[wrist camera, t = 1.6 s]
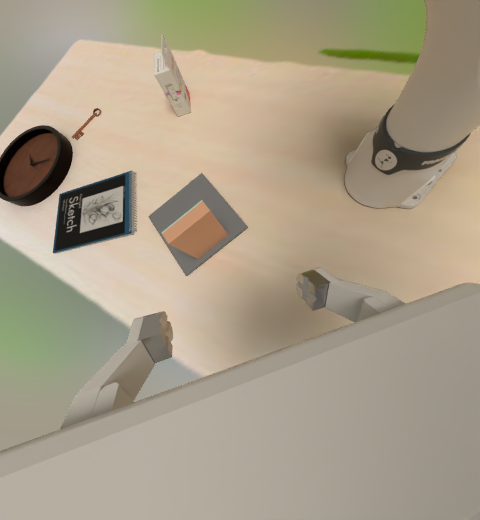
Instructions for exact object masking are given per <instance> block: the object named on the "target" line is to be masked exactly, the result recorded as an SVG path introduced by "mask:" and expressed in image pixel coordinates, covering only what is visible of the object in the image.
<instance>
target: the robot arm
mask: <svg viewBox="0 0 480 520" xmlns="http://www.w3.org/2000/svg"><path fill="white" fill-rule="evenodd" d="M424 2H425V7H426V19H427V20H426V32H425V38H424V43H423V47H422V50H421V53H420V56H419V58H418V61H417V63H416V65H415V67H414V69H413V71H412V73H411V75H410V77H409V79H408V81H407V83H406V85H405V87H404V88H403V90H402V92H401V94H400V96H399V97H398V99H397V101H396V103H395V104H394V105H393V106H392V107H391V108H390V109H389V110H388V112H387V113H386V115H385V116H384V117H383V118H382V120H381V121H380V123H379V125H378V127H376V128H375V129H374V130H372V131H371V132H368V133H367V134H366V136H365V137H364V139H363V140H362V142H361V143H360V145H359V147H358V148H357V149H355V150H354V151H352V152H350V153H349V154H348V155H347V157H346V165H347V170H346V174H345V186H346V189H347V191H348V193H349V194H350V195H351V196H352V197H353V198H354V199H355V200H356V201H358V202H359V203H361V204H363V205H366V206H369V207H374V208H387V207H401V208H407V209H411V208H414V207H415V206H416V205H417V204H418V203H419V202H420V201H421V200H422V198H423V197H424V196H425V195H426V194H427V193H428V191H429V190H430V189H431V188H432V187H433V185H434V184H435V183H436V182H437V181H438V180H439V178H440V177H441V176H442V175H443V174H444V172H445V171H446V170H447V169H448V168H449V167H450V165H451V164H452V163H453V162H454V161H455V159H456V158H457V155H456V153H455V151H456V150H457V149H458V148H459V147H460V146H461V145H462V144H463V143H464V142H465V141H466V139H467V138H468V137H469V135H470V133H471V132H472V131H473V130H474V129H476V128H477V127H478V126H479V125H480V0H424ZM413 198H415V199H413ZM297 280H298V281H299V282H298V284H297V292H298V294H299V296H300V297H301V298H302V299H304V300H306V304H307V305H308V306H309V307H310V308H311V309H312V310H313V311H314V310H317V309H320V308H324V307H325V308H327V309H329V310H331V311H333V312H335V313H337V314H339V315H341V316H343V317H345V318H347V319H349V320H352V321H354V322H355V323H352V324H349V325H347V326H344V327H341V328H338V329H335V330H333V331H330V332H327V333H324V334H322V335H319V336H316V337H313V338H311V339H308V340H305V341H302V342H300V343H297V344H294V345H291V346H289V347H286V348H283V349H280V350H278V351H275V352H272V353H269V354H267V355H264V356H261V357H258V358H256V359H253V360H250V361H247V362H245V363H242V364H239V365H236V366H233V367H231V368H228V369H225V370H222V371H220V372H217V373H214V374H211V375H209V376H206V377H203V378H200V379H198V380H195V381H192V382H189V383H187V384H184V385H181V386H178V387H176V388H173V389H171V390H167V391H165V392H162V393H159V394H156V395H154V396H151V397H148V398H145V399H143V400H140V401H137V402H133V401H134V399H135V398H136V396H137V394H138V393H139V391H140V389H141V387H142V386H143V384H144V382H145V380H146V379H147V377H148V375H149V374H150V372H151V370H152V369H153V367H154V365H155V363H157V362H160V361H162V360H165V359H168V358H171V357H172V344H171V341H172V339H173V331H172V326H171V324H170V322H169V321H167V315H166V312H164V311H163V312H159V313H155V314H151V315H147V316H144V317H140V318H136V319H134V320H133V323H132V326H131V329H130V332H129V335H128V339H127V342H126V345H123V346H122V347H121V348H120V349H119V350H118V351H117V352H116V353H115V354H114V355H113V356H112V357H111V358H110V359H109V360H108V361H107V363H106V364H105V365H104V366H103V367H102V368H101V369H100V370H99V371H98V372H97V373H96V374H95V375H94V376H93V377H92V378H91V379H90V380H89V381H88V382H87V384H86V385H85V386H84V387H83V388H82V389H81V390H80V391H79V392H78V393H77V394H76V396H75V398H74V400H73V402H72V404H71V406H70V409H69V411H68V413H67V415H66V418H65V420H64V422H63V424H62V426H61V428H60V430H57V431H54V432H52V433H49V434H46V435H43V436H41V437H38V438H35V439H32V440H30V441H27V442H24V443H21V444H19V445H16V446H13V447H10V448H8V449H5V450H2V451H0V520H480V284H475V283H463V284H460V285H456V286H454V287H451V288H448V289H446V290H443V291H440V292H438V293H435V294H432V295H429V296H427V297H424V298H421V299H418V300H416V301H413V302H410V303H407V304H405V303H404V302H402V301H400V300H399V299H397V298H396V297H394V296H392V295H391V294H389V293H387V292H386V291H382V290H379V289H375V288H371V287H367V286H363V285H359V284H355V283H351V282H348V281H344V280H338V279H336V278H335V277H333V276H332V275H331V274H329V273H328V272H326V271H325V270H324V269H322V268H316V269H313V270H310V271H306V272H303V273H299V274H298V276H297Z"/></svg>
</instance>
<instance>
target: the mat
mask: <svg viewBox="0 0 480 520" xmlns="http://www.w3.org/2000/svg"><path fill="white" fill-rule="evenodd" d="M201 200H202V201H203V202H204V203H205V205H206V206H207V207H208V208H209V210H210V211H211V212H212V214H213V215H214V216H215V218H216V219H217V220H218V221H219V223H220V224H221V225H222V227H223V228H224V229H225V231H226V232H227V233H228V236H227V237H225V238H224V239H223V240H222V241H220V242H219V243H218V244H217V245H215V246H214V247H213V248H212V249H210V250H209V251H208V252H207V253H205V254H204V255H203V256H202V257H200V258H199V259H197V258H195V257H193V256H191V255H189V254H187V253H185V252H183V251H181V250H179V249H177V248H175V247H173V246H171V245H169V244H168V242H167V241H166V239H165V238H164V236H163V235H162V232H163V231H164V230H165V229H167V228H168V227H169V226H170V225H171V224H173V223H174V222H175V221H176V220H178V219H179V218H180V217H181V216H183V215H184V214H185V213H186V212H188V211H189V210H190V209H191V208H192V207H194V206H195V205H196V204H197V203H199V202H200V201H201ZM149 218H150V220H151V222H152V223H153V225H154V226H155V228H156V229H157V231H158V233H159V234H160V236H161V237H162V239H163V240H164V242H165V244H166V245H167V247H168V248H169V250H170V251H171V253H172V255H173V256H174V258H175V259H176V261H177V262H178V264H179V266H180V267H181V269H182V270H183V272H184V273H185V275H186V276H188V275H189V274H190V273H192V272H193V271H194V270H195V269H197V268H198V267H199V266H200V265H202V264H203V263H204V262H205V261H207V260H208V259H209V258H211V257H212V256H213V255H214V254H216V253H217V252H218V251H219V250H221V249H222V248H223V247H224V246H226V245H227V244H228V243H229V242H231V241H232V240H233V239H234V238H236V237H237V236H238V235H239V234H241V233H242V232H243V231H244V230H246V229H247V228H248V227H247V225H246V224H245V223H244V222H243V221H242V219H241V218H240V217H239V216H238V215H237V214H236V212H235V211H234V210H233V209H232V208H231V207H230V205H229V204H228V203H227V202H226V201H225V200H224V198H223V197H222V196H221V195H220V194H219V193H218V191H217V190H216V189H215V188H214V187H213V185H212V184H211V183H210V182H209V181H208V180H207V178H206V177H205V176H204V175H203V174H202V173H201V174H200V175H199V176H198V177H196V178H195V179H194V180H193V181H192V182H190V183H189V184H188V185H187V186H185V187H184V188H183V189H182V190H180V191H179V192H178V193H177V194H176V195H174V196H173V197H172V198H171V199H169V200H168V201H167V202H166V203H165V204H163V205H162V206H161V207H160V208H158V209H157V210H156V211H155V212H153V213H152V214H151V215H150V216H149Z"/></svg>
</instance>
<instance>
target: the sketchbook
mask: <svg viewBox="0 0 480 520" xmlns="http://www.w3.org/2000/svg"><path fill="white" fill-rule="evenodd" d="M134 174H135V175H136V173H135V172H133V171H129V172H126V173H123V174H120V175H117V176H114V177H111V178H108V179H105V180H102V181H98V182H95V183H92V184H89V185H86V186H83V187H80V188H77V189H74V190H71V191H68V192H65V193H62V194H60V196H59V204H58V213H57V222H56V230H55V239H54V248H53V253H59V252H64V251H68V250H72V249H76V248H80V247H84V246H88V245H92V244H96V243H100V242H104V241H109V240H113V239H117V238H121V237H125V236H129V235H133V234H134V229H136V228H134V226H135V225H134V221H135V222H137V221H136V220H134V218H135V217H134V216H136V215H134V213H135V212H134V208H135V207H134V205H135V204H136V203H135V202H134V198H135V197H134V193H135V192H136V190H134V188H135V187H136V186H135V185H134V181H135V180H136V179H135V178H136V176H134ZM134 177H135V178H134ZM134 179H135V180H134ZM135 182H136V181H135ZM135 184H136V183H135ZM134 186H135V187H134ZM135 189H136V188H135ZM134 191H135V192H134ZM135 194H136V193H135ZM135 196H136V195H135ZM135 199H136V198H135ZM135 201H136V200H135ZM136 202H137V201H136ZM134 203H135V204H134ZM135 206H136V205H135ZM136 207H137V206H136ZM135 209H136V208H135ZM135 211H136V210H135ZM136 212H137V211H136ZM135 214H136V213H135ZM136 217H137V216H136ZM135 219H136V218H135ZM135 224H136V223H135ZM136 225H137V224H136ZM135 227H136V226H135ZM136 230H137V229H136ZM136 230H135V231H136Z"/></svg>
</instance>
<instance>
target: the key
mask: <svg viewBox="0 0 480 520" xmlns="http://www.w3.org/2000/svg"><path fill="white" fill-rule="evenodd" d="M96 110H100V109H98V108H96V109H94V111H93V115H92V116H91V117H90V119H88V120H87V121H86V123H85V124H84V125H83V126H82V127H81V128H80V129H79V130H78V131H77V132H76V133H75V134H74V135H73V136H72V138H73V139H74V138H75V139H76V140H78V139H79V138H80V137H81V136H83V134H84V133H83V132H82V131H81V130H82V129H83V128H84V127H85V126H86V125H87V124H88V123H89V122H90V121H91V120H92V119H93V118H94V117H95V116H99V115H100V114H101V110H100V113H99V114H98V115H96V114H97V113H95V111H96ZM79 134H80V135H81V136H80V135H79ZM78 135H79V136H80V137H79V136H78Z"/></svg>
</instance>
